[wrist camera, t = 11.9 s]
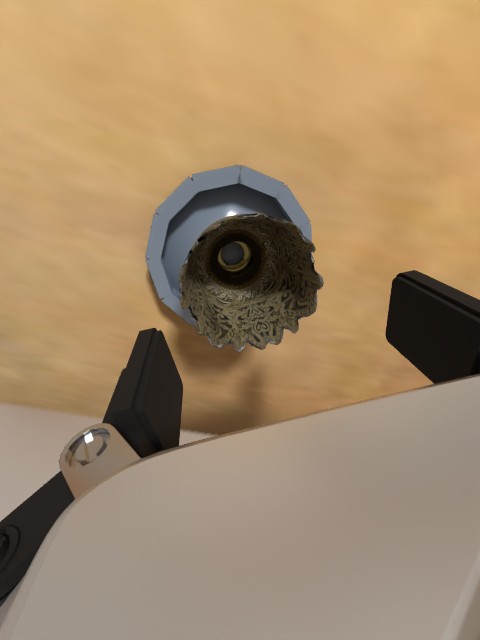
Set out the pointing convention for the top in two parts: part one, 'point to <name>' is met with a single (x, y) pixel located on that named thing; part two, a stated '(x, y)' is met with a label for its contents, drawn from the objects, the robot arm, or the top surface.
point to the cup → (249, 281)
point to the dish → (211, 221)
